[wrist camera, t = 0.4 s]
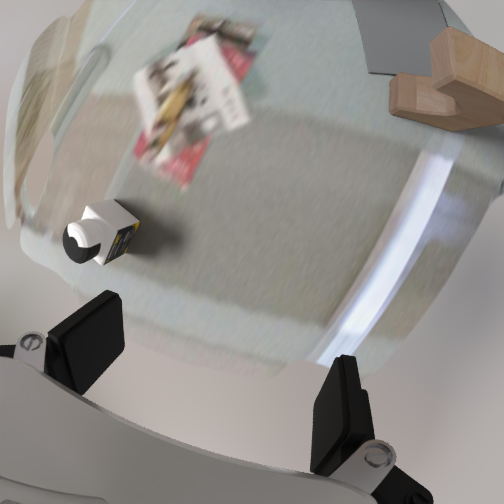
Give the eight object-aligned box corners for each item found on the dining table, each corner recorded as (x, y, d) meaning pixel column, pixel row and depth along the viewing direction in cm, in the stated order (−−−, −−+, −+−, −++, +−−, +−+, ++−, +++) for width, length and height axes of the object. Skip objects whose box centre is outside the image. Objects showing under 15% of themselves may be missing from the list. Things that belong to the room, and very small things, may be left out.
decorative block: (387, 114, 33) (452, 76, 14) (389, 78, 31) (446, 21, 12) (452, 133, 31) (539, 123, 12) (453, 99, 29) (533, 71, 11)
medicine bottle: (125, 253, 47) (82, 278, 36) (99, 230, 47) (53, 249, 35) (141, 221, 44) (95, 240, 33) (112, 198, 44) (64, 210, 33)
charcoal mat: (348, -13, 27) (348, -15, 26) (436, 1, 23) (437, -1, 23) (368, 73, 31) (369, 71, 31) (460, 85, 28) (462, 84, 28)
